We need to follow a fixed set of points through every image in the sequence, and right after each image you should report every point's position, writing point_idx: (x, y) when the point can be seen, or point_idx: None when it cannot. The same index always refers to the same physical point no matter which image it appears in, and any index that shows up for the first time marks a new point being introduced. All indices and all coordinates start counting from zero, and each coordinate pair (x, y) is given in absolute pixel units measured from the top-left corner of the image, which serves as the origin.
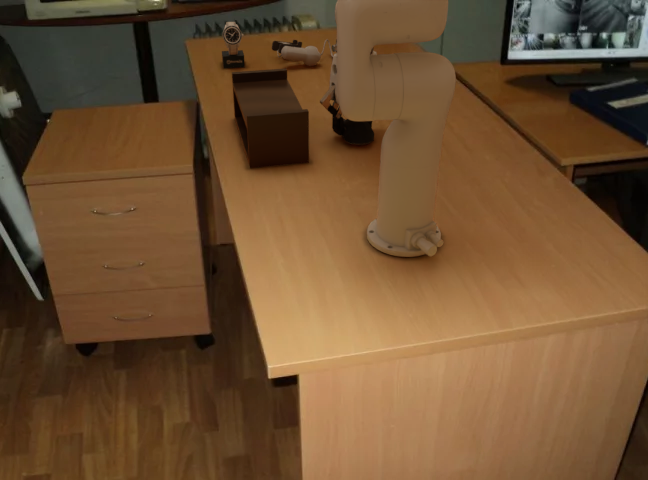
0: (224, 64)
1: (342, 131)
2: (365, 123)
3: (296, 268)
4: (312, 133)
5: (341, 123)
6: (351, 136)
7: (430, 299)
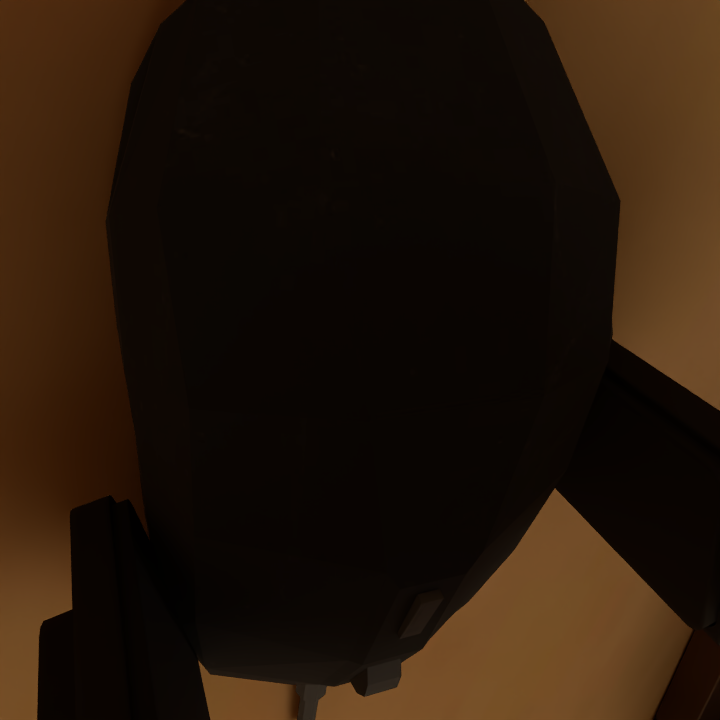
0: None
1: None
2: (311, 393)
3: None
4: None
5: (701, 404)
6: (578, 130)
7: None
